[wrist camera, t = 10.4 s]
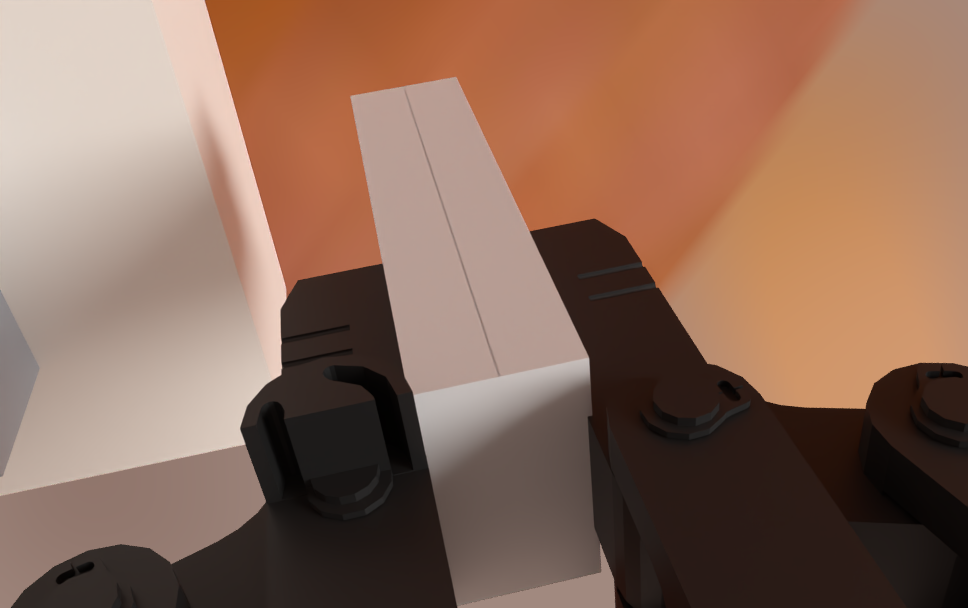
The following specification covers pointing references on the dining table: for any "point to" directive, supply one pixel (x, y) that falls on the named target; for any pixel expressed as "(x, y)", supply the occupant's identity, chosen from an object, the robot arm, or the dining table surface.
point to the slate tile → (13, 380)
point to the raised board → (129, 238)
